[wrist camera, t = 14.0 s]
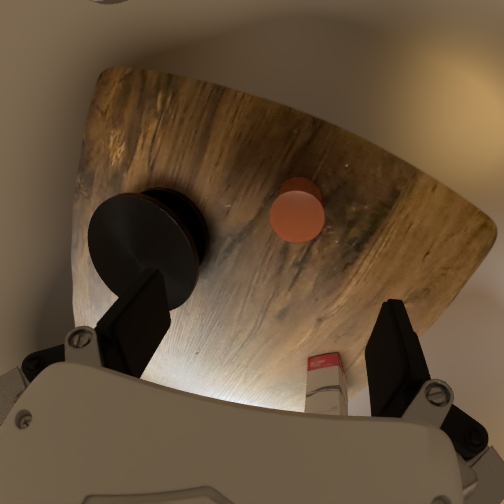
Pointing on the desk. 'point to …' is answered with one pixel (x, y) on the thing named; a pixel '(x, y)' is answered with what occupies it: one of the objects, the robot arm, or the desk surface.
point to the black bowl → (149, 241)
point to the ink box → (326, 386)
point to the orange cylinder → (298, 210)
